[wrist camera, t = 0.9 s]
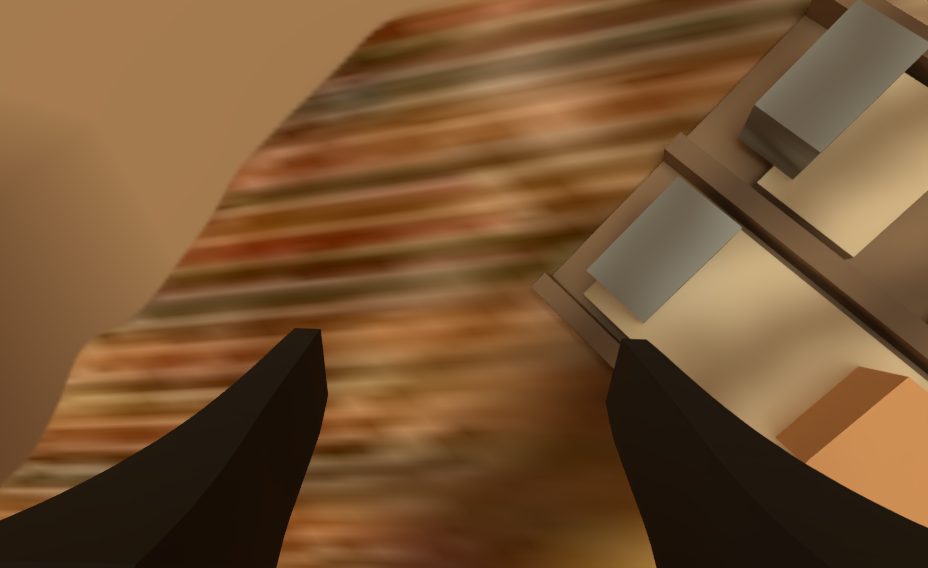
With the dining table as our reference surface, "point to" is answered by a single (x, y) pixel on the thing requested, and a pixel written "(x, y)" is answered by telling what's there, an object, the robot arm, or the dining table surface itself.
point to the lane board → (808, 175)
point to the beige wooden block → (730, 313)
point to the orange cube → (870, 440)
